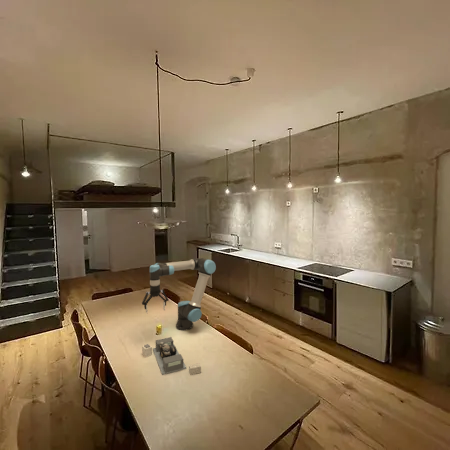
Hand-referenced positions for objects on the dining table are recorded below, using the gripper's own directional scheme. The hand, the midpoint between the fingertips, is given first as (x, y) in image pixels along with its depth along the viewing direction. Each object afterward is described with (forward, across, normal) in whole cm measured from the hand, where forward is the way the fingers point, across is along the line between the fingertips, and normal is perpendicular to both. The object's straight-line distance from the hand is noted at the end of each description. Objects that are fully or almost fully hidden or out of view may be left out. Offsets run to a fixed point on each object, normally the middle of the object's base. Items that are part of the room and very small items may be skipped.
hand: (155, 311), depth 207 cm
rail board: (+26, -3, +26) cm, 37 cm away
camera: (+25, -3, +26) cm, 36 cm away
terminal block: (+26, -14, +49) cm, 57 cm away
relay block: (+26, +10, +13) cm, 31 cm away
